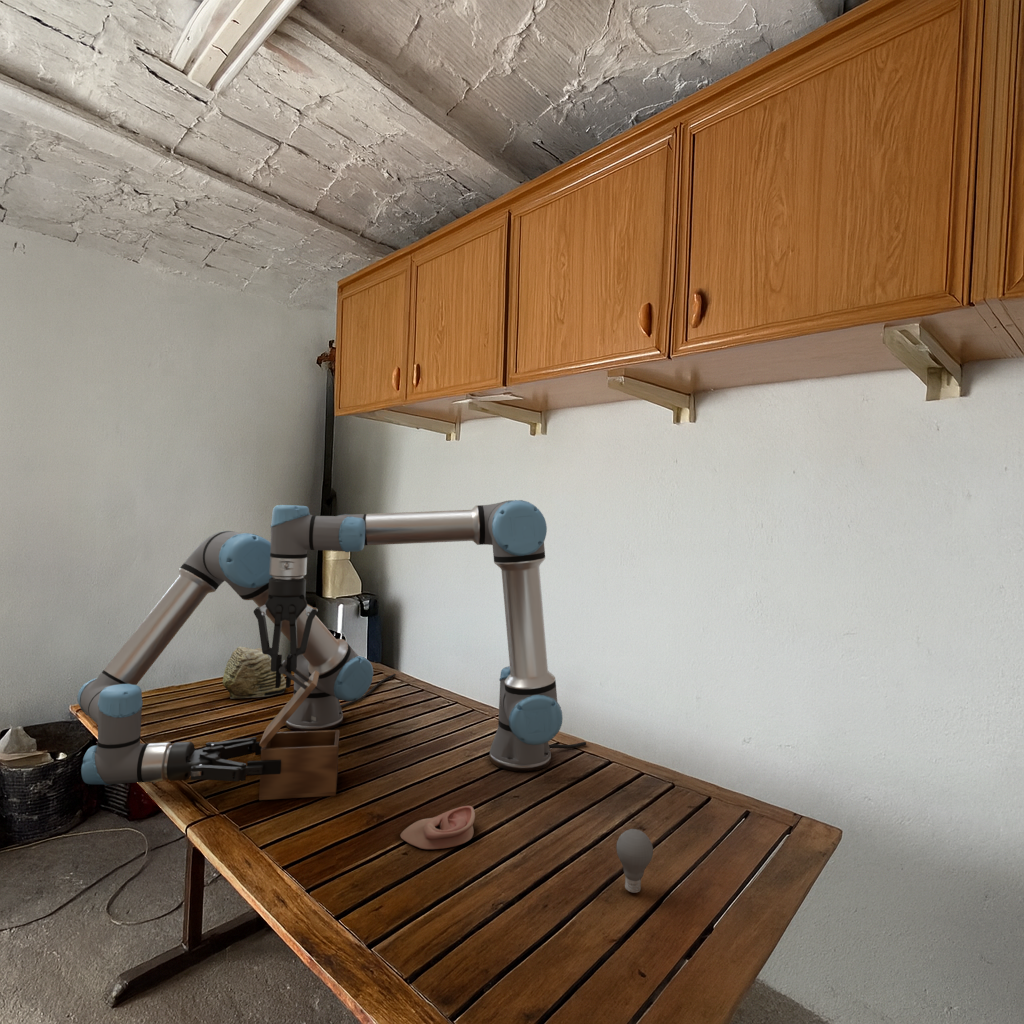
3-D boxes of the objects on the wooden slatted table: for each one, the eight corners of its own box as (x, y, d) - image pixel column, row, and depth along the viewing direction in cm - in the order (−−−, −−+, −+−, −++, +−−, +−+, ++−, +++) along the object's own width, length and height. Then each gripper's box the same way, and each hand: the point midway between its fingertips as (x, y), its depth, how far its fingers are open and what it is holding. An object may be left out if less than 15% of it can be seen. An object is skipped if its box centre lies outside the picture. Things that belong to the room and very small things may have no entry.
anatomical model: (394, 823, 116) (416, 795, 127) (393, 844, 116) (415, 814, 128) (464, 834, 114) (480, 804, 125) (463, 855, 114) (479, 824, 125)
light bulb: (610, 879, 108) (613, 822, 108) (644, 879, 109) (647, 822, 109) (619, 902, 102) (622, 840, 102) (655, 901, 103) (658, 840, 103)
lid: (319, 672, 143) (290, 651, 141) (316, 685, 133) (285, 662, 132) (270, 731, 140) (240, 709, 139) (263, 748, 131) (231, 725, 129)
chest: (337, 775, 144) (339, 729, 144) (335, 795, 135) (337, 746, 134) (266, 779, 141) (267, 732, 140) (259, 800, 131) (261, 749, 131)
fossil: (218, 695, 195) (220, 647, 195) (278, 685, 208) (279, 640, 207) (228, 703, 189) (230, 653, 188) (289, 692, 201) (290, 645, 201)
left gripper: (184, 757, 142) (289, 753, 148) (152, 805, 121) (276, 797, 126) (185, 724, 142) (290, 721, 147) (153, 766, 121) (277, 760, 126)
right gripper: (248, 578, 130) (244, 692, 131) (321, 579, 134) (316, 690, 134) (254, 574, 138) (250, 681, 138) (323, 575, 141) (319, 680, 142)
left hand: (283, 756), depth 137 cm, fingers closed on chest, 10 cm apart
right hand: (283, 685), depth 136 cm, fingers closed on lid
